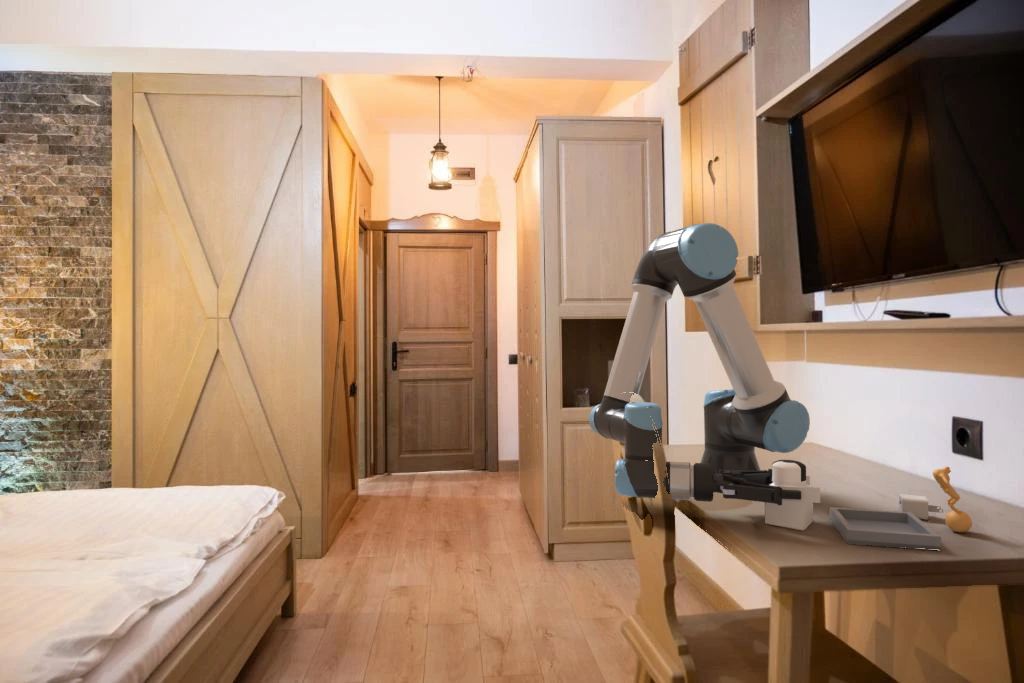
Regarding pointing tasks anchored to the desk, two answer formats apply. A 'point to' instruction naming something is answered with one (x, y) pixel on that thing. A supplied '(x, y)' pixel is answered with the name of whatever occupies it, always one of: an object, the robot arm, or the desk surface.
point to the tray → (883, 528)
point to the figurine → (952, 503)
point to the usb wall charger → (916, 506)
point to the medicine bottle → (789, 511)
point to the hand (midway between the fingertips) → (814, 488)
